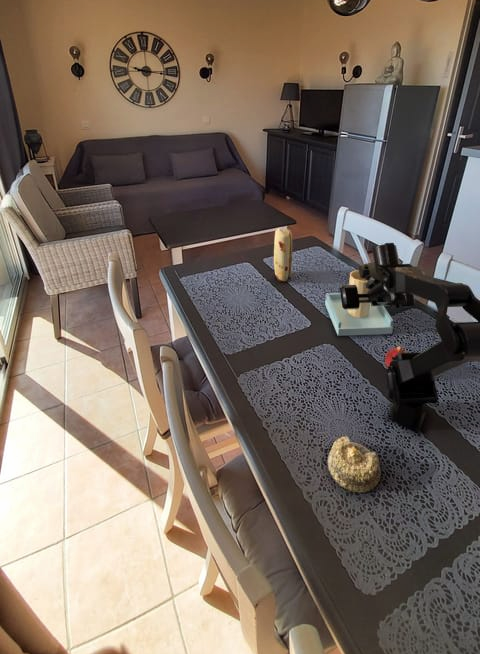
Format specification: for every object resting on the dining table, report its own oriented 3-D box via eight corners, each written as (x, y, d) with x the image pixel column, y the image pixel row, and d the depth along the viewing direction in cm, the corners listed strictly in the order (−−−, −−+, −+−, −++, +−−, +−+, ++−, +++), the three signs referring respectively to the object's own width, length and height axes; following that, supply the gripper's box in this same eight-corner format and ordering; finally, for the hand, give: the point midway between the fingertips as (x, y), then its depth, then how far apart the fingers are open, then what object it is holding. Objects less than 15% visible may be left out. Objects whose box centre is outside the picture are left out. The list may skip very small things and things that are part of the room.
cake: (373, 506, 65) (376, 489, 62) (320, 478, 69) (320, 461, 67) (385, 456, 72) (388, 439, 69) (336, 434, 77) (337, 418, 74)
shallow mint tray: (391, 334, 106) (394, 321, 105) (337, 335, 106) (339, 323, 104) (372, 303, 121) (374, 291, 119) (325, 304, 121) (326, 293, 119)
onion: (409, 382, 89) (415, 357, 86) (385, 379, 91) (389, 354, 87) (404, 365, 95) (409, 341, 92) (381, 362, 96) (385, 338, 93)
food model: (271, 272, 142) (271, 225, 134) (288, 271, 143) (289, 224, 135) (275, 285, 133) (276, 235, 125) (293, 283, 134) (295, 234, 126)
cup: (345, 316, 111) (349, 279, 106) (347, 304, 117) (350, 268, 111) (368, 320, 109) (373, 282, 104) (369, 307, 115) (373, 271, 109)
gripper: (417, 257, 92) (394, 274, 107) (344, 260, 92) (331, 276, 107) (427, 300, 88) (401, 312, 102) (351, 303, 88) (336, 314, 102)
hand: (367, 302), depth 104 cm, fingers open, 9 cm apart
